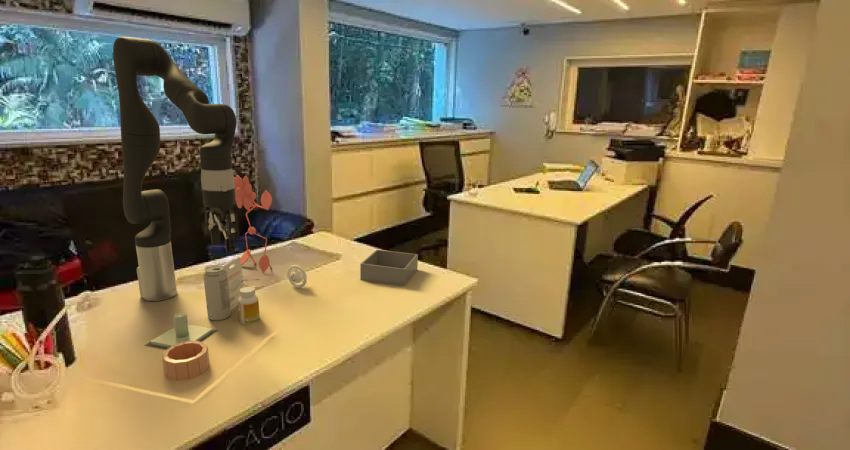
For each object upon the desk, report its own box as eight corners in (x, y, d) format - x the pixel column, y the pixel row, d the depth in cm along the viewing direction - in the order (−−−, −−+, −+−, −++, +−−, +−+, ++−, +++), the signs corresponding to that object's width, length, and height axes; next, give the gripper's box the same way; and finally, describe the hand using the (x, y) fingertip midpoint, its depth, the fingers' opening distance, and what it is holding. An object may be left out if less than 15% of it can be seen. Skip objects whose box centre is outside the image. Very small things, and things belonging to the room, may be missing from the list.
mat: (144, 347, 115) (144, 345, 114) (180, 325, 126) (180, 323, 126) (185, 355, 112) (185, 353, 112) (218, 332, 123) (218, 330, 123)
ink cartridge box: (230, 299, 142) (226, 254, 138) (245, 301, 141) (241, 256, 137) (213, 311, 134) (208, 264, 130) (228, 313, 133) (224, 266, 129)
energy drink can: (214, 312, 134) (209, 264, 129) (235, 313, 133) (230, 265, 129) (204, 322, 128) (198, 272, 124) (225, 323, 128) (220, 273, 123)
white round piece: (284, 286, 153) (283, 264, 151) (296, 281, 158) (295, 259, 156) (302, 292, 149) (302, 269, 147) (314, 286, 154) (313, 263, 152)
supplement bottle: (264, 318, 131) (261, 287, 128) (251, 327, 126) (248, 294, 124) (248, 315, 133) (245, 284, 130) (235, 323, 128) (232, 291, 125)
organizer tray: (360, 279, 161) (360, 263, 159) (376, 264, 176) (376, 249, 174) (404, 285, 157) (405, 269, 155) (417, 269, 172) (417, 254, 170)
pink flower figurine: (243, 257, 178) (234, 168, 167) (289, 273, 164) (282, 176, 154) (206, 270, 165) (194, 174, 155) (252, 287, 152) (243, 184, 142)
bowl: (156, 378, 103) (153, 358, 101) (185, 357, 111) (183, 338, 110) (190, 385, 101) (187, 365, 99) (217, 363, 109) (215, 344, 108)
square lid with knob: (151, 344, 115) (147, 321, 113) (180, 325, 124) (178, 304, 123) (184, 350, 113) (181, 327, 111) (212, 331, 122) (210, 310, 120)
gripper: (191, 183, 116) (197, 243, 121) (215, 193, 107) (221, 258, 112) (220, 180, 122) (225, 238, 126) (246, 189, 113) (250, 251, 117)
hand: (223, 247), depth 119 cm, fingers open, 8 cm apart
